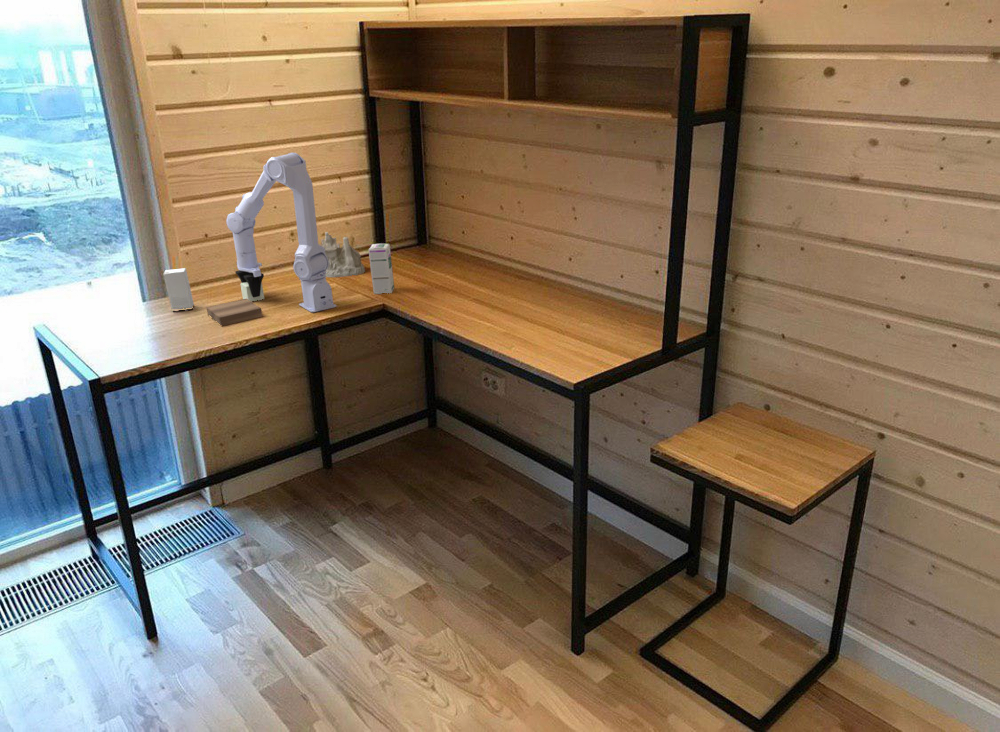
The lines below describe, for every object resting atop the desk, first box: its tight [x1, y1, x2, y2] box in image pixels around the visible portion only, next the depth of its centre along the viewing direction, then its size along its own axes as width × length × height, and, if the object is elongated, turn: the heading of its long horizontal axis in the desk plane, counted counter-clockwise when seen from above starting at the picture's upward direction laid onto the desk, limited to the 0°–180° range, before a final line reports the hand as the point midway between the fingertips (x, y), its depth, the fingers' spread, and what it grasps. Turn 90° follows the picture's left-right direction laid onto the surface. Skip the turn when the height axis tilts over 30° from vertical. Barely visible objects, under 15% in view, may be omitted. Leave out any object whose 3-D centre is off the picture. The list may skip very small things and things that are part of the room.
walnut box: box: [206, 298, 263, 326], centre depth 231 cm, size 12×12×3 cm
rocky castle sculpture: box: [320, 231, 366, 278], centre depth 269 cm, size 16×16×15 cm
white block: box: [240, 282, 265, 302], centre depth 245 cm, size 5×5×5 cm
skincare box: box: [162, 267, 195, 310], centre depth 236 cm, size 6×4×12 cm
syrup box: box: [368, 242, 395, 295], centre depth 245 cm, size 6×6×14 cm
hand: (252, 294), depth 245 cm, fingers closed on white block, 5 cm apart
